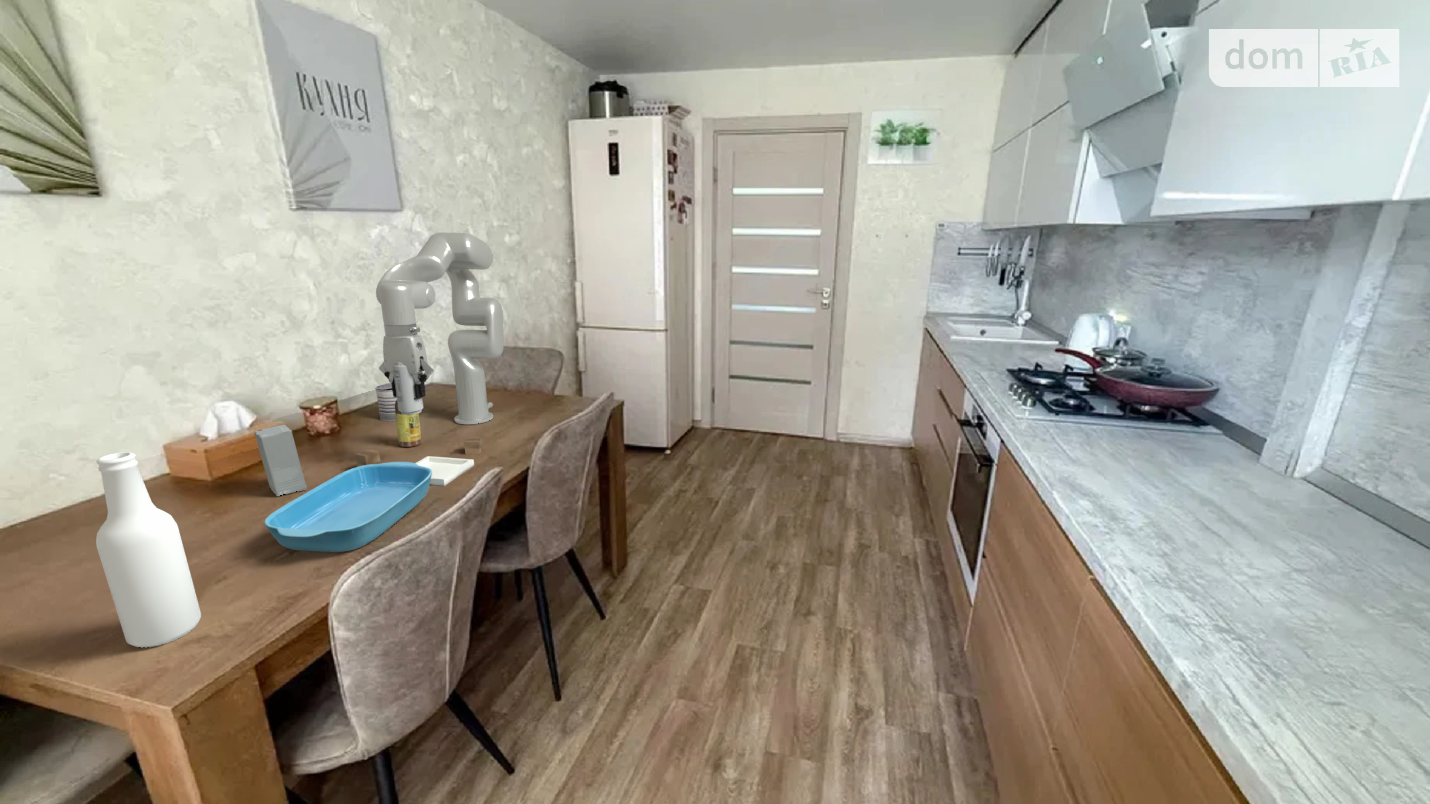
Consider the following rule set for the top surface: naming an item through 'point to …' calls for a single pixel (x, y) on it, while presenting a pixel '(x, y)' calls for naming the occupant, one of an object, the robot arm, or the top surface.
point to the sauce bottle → (407, 428)
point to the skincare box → (280, 460)
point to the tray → (445, 468)
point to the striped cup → (386, 402)
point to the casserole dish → (350, 507)
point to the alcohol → (143, 559)
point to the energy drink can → (406, 391)
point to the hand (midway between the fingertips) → (409, 396)
